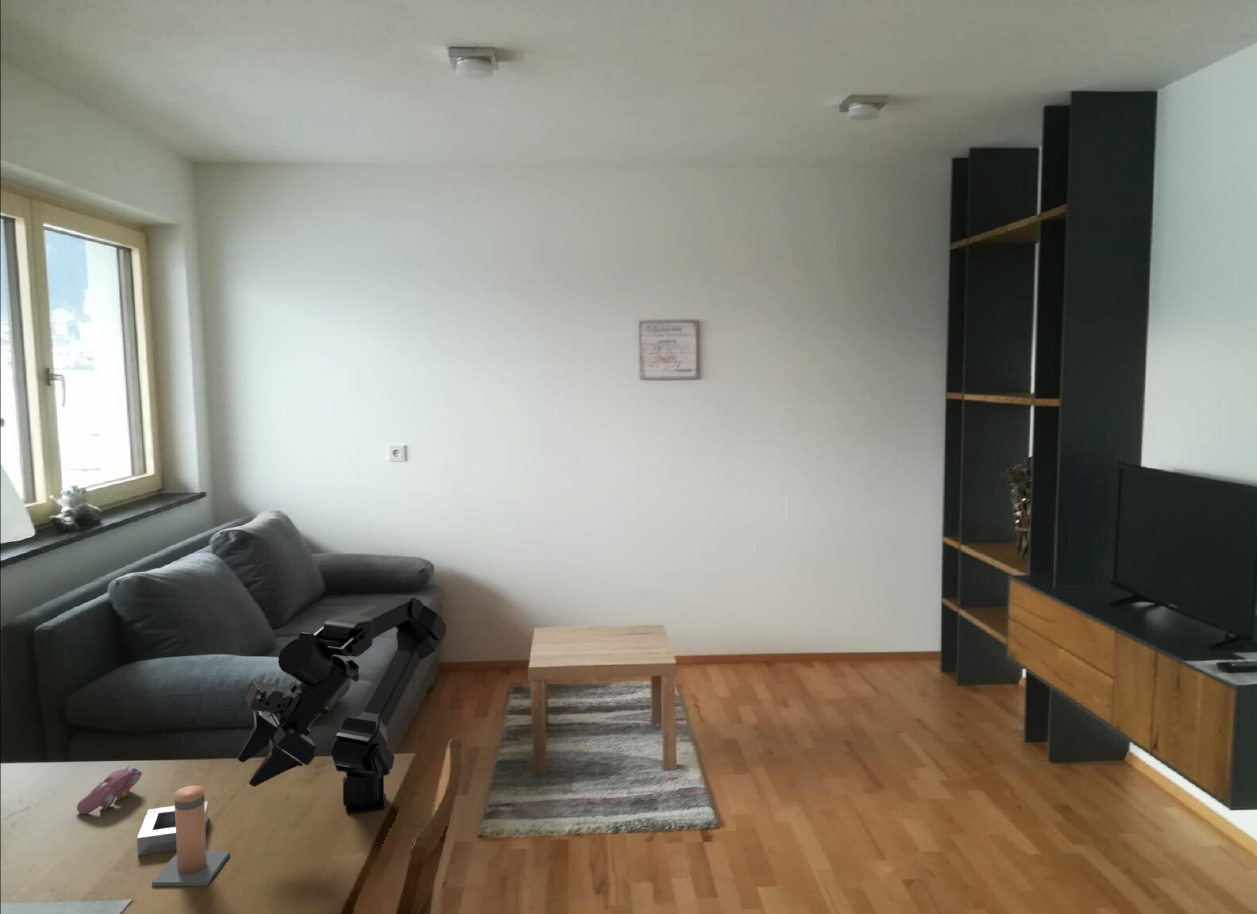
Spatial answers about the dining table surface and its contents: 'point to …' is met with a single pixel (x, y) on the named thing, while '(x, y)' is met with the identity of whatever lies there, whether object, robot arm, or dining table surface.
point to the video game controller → (110, 790)
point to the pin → (190, 829)
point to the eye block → (160, 831)
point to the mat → (200, 878)
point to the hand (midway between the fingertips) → (245, 772)
